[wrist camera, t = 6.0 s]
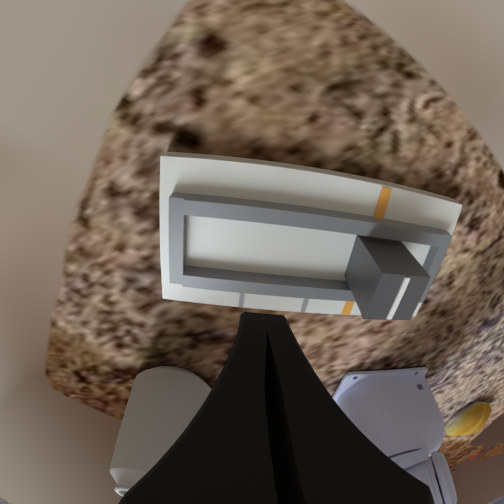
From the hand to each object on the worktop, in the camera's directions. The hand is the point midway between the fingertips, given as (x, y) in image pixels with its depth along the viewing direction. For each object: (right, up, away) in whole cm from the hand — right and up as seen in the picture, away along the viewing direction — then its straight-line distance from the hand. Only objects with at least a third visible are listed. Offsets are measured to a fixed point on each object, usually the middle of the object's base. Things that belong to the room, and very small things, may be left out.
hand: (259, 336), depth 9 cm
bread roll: (+35, -24, +25) cm, 49 cm away
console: (+4, +3, +8) cm, 10 cm away
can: (-7, -9, +16) cm, 20 cm away
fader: (+7, +2, +8) cm, 11 cm away
